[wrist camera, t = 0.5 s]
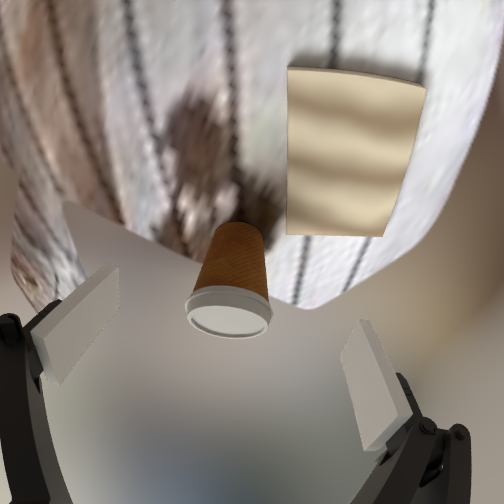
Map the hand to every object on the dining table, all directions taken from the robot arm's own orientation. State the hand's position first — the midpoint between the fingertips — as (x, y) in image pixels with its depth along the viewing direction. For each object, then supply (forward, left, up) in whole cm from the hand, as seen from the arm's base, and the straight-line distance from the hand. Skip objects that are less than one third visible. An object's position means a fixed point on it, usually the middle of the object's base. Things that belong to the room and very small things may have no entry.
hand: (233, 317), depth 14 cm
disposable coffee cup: (+14, -3, -18) cm, 23 cm away
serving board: (+2, +9, -18) cm, 20 cm away
